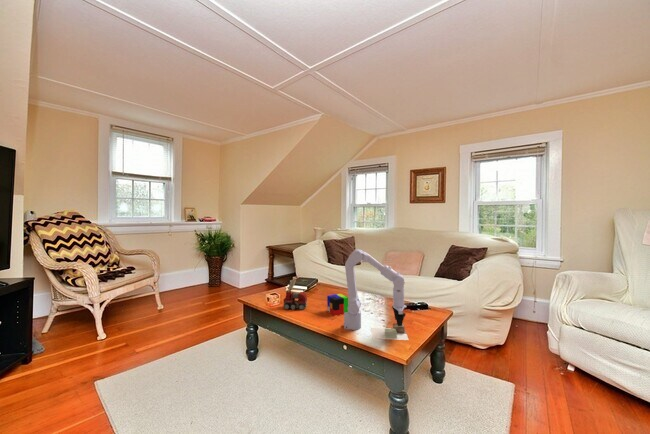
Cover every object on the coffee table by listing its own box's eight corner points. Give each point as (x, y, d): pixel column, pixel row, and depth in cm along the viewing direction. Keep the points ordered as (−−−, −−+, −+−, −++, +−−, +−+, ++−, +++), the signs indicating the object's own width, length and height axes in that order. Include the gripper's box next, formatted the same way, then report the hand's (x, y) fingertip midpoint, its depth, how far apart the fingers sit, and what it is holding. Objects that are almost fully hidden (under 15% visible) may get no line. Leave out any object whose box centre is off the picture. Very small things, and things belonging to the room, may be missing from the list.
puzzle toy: (327, 310, 180) (327, 295, 179) (340, 308, 184) (340, 293, 184) (334, 315, 171) (334, 300, 171) (348, 313, 175) (348, 297, 175)
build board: (372, 340, 137) (372, 338, 137) (370, 329, 150) (370, 327, 150) (408, 342, 135) (408, 339, 135) (404, 330, 148) (404, 328, 148)
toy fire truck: (305, 310, 181) (305, 284, 180) (282, 309, 183) (282, 283, 182) (308, 304, 192) (308, 279, 192) (287, 304, 194) (286, 279, 194)
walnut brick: (393, 332, 144) (393, 326, 144) (392, 328, 148) (392, 323, 148) (404, 332, 143) (404, 327, 143) (403, 329, 147) (403, 323, 147)
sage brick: (385, 337, 138) (385, 331, 138) (384, 334, 142) (384, 328, 142) (396, 338, 137) (396, 332, 137) (395, 334, 141) (395, 328, 141)
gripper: (408, 302, 138) (408, 328, 138) (403, 293, 152) (403, 317, 152) (394, 301, 138) (394, 328, 139) (390, 293, 153) (390, 317, 153)
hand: (398, 322), depth 146 cm, fingers open, 7 cm apart
